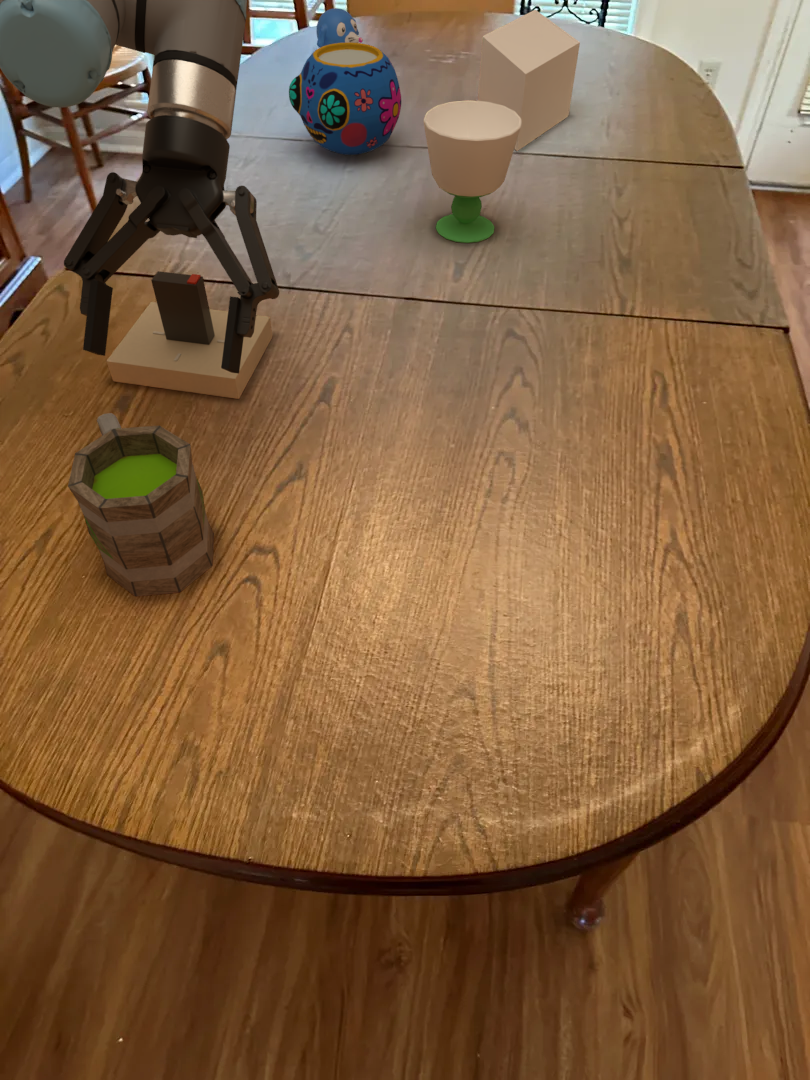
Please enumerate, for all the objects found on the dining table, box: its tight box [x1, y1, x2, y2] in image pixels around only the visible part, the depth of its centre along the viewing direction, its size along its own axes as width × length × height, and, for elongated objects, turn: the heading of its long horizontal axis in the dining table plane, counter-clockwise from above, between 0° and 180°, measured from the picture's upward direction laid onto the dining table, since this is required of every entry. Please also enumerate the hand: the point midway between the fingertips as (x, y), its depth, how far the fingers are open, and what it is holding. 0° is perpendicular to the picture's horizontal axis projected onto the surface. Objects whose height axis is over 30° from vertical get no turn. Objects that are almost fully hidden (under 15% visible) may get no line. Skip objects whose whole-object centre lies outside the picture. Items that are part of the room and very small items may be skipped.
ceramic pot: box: [288, 42, 402, 156], centre depth 133 cm, size 18×18×15 cm
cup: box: [422, 99, 522, 244], centre depth 114 cm, size 14×14×16 cm
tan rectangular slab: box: [106, 301, 273, 400], centre depth 97 cm, size 16×13×3 cm
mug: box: [67, 412, 215, 597], centre depth 74 cm, size 16×11×12 cm
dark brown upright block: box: [150, 270, 215, 345], centre depth 93 cm, size 6×2×8 cm, turn 79°
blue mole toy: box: [315, 7, 364, 49], centre depth 166 cm, size 12×12×8 cm
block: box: [477, 9, 581, 152], centre depth 146 cm, size 18×35×12 cm, turn 171°
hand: (161, 362), depth 74 cm, fingers open, 13 cm apart
